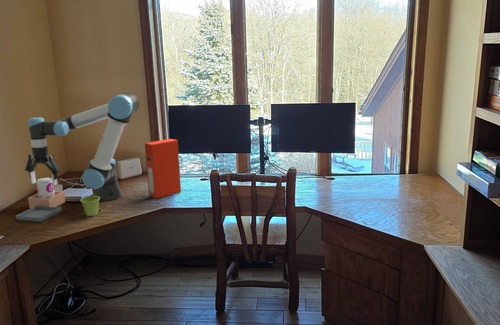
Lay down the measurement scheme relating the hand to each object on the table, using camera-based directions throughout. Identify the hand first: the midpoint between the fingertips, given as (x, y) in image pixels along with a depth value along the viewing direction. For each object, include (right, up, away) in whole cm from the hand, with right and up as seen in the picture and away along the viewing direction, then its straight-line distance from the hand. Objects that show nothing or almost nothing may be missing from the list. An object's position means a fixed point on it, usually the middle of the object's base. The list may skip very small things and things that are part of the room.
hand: (44, 184), depth 224 cm
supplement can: (+1, -12, +3) cm, 13 cm away
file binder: (+63, -7, +19) cm, 66 cm away
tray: (+4, -16, -13) cm, 21 cm away
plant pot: (+31, -16, -12) cm, 36 cm away
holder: (+1, -12, +3) cm, 12 cm away
